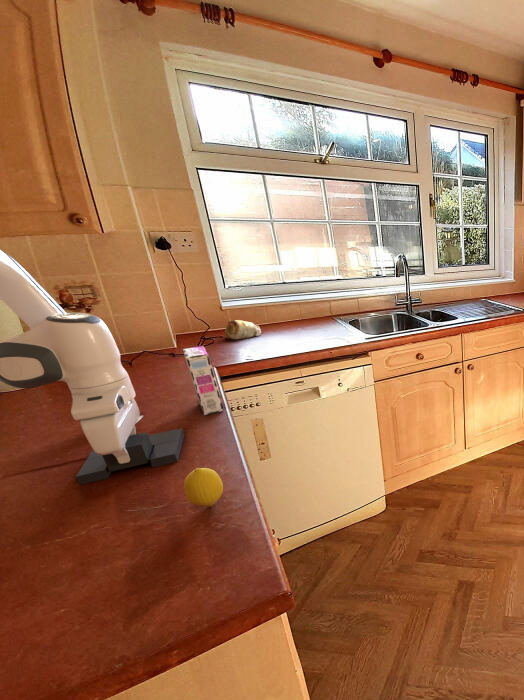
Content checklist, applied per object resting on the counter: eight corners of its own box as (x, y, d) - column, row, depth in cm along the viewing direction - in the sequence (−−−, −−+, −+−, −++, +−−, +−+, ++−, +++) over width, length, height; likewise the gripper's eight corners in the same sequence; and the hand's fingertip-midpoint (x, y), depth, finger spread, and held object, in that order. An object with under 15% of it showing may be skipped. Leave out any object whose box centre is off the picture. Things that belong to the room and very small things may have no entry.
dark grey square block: (109, 472, 87) (101, 453, 85) (116, 457, 92) (108, 439, 90) (148, 462, 90) (141, 444, 88) (153, 449, 95) (146, 432, 93)
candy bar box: (226, 410, 116) (208, 354, 110) (204, 416, 113) (185, 358, 107) (220, 398, 124) (203, 344, 117) (199, 403, 121) (181, 348, 115)
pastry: (218, 340, 183) (213, 322, 180) (237, 332, 194) (232, 315, 191) (250, 340, 182) (245, 322, 179) (267, 332, 194) (262, 315, 191)
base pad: (79, 485, 84) (75, 476, 84) (98, 453, 96) (95, 446, 95) (177, 461, 92) (174, 453, 91) (184, 435, 103) (182, 428, 102)
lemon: (186, 508, 77) (172, 471, 74) (219, 492, 81) (207, 456, 78) (200, 519, 74) (186, 481, 71) (233, 502, 78) (221, 465, 75)
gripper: (98, 381, 92) (121, 436, 97) (67, 416, 75) (97, 481, 80) (135, 375, 95) (155, 429, 100) (113, 408, 78) (139, 471, 83)
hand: (129, 453), depth 90 cm, fingers closed on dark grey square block, 6 cm apart
